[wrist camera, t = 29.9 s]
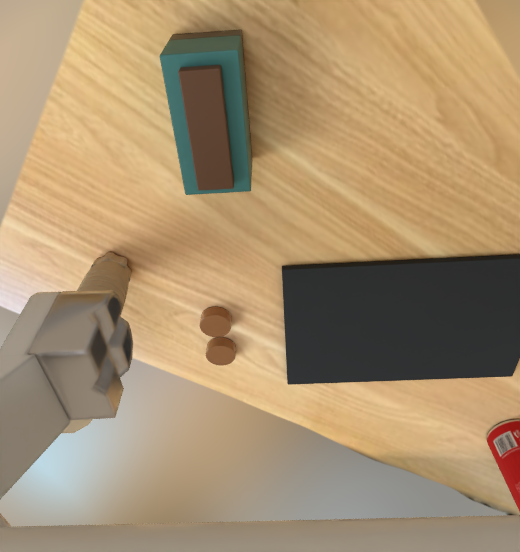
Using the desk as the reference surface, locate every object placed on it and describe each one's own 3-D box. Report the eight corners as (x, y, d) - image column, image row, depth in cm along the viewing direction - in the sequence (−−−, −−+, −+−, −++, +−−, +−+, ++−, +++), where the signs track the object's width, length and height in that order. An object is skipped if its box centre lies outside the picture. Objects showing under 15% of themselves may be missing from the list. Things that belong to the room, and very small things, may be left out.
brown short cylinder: (230, 306, 46) (229, 314, 45) (232, 328, 48) (231, 337, 47) (199, 306, 46) (198, 315, 45) (202, 328, 48) (201, 337, 47)
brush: (241, 29, 31) (237, 53, 26) (252, 159, 36) (250, 197, 32) (172, 34, 31) (156, 59, 27) (193, 162, 37) (183, 201, 32)
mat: (557, 252, 42) (561, 256, 41) (510, 372, 52) (512, 376, 51) (281, 265, 43) (282, 269, 42) (287, 380, 53) (287, 384, 52)
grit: (233, 335, 49) (232, 344, 48) (238, 355, 50) (237, 364, 49) (204, 338, 49) (203, 347, 48) (210, 358, 51) (209, 366, 50)
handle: (78, 280, 44) (11, 421, 32) (96, 227, 40) (28, 365, 29) (129, 298, 45) (82, 439, 34) (151, 249, 42) (107, 388, 30)
